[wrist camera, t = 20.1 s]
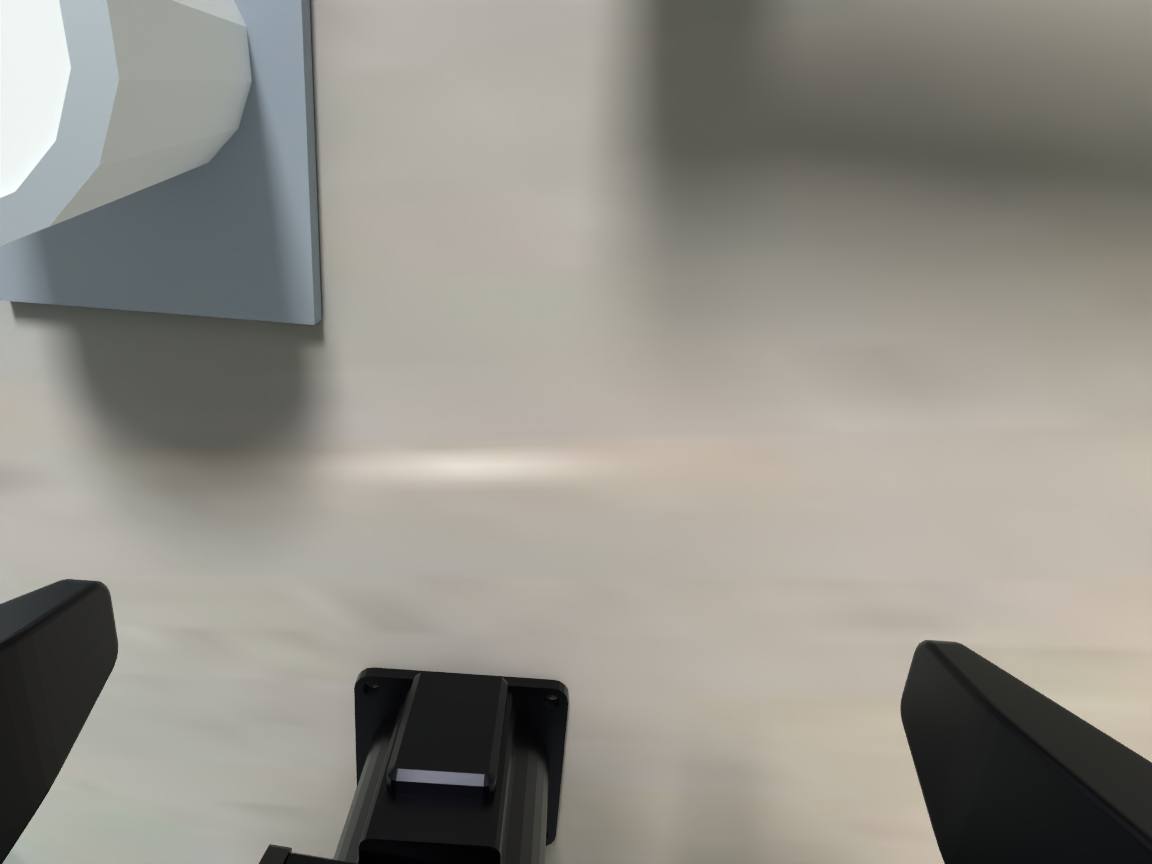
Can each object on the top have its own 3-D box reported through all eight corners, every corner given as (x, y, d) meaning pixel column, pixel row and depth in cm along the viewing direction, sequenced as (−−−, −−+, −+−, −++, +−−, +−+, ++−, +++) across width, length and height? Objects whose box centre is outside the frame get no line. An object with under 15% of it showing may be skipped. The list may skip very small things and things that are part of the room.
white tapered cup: (118, 261, 20) (-107, 338, 13) (-103, -9, 18) (-499, -76, 11) (341, 104, 18) (212, 104, 12) (132, -211, 16) (-164, -420, 10)
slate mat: (321, 319, 21) (314, 324, 20) (7, 294, 21) (-9, 299, 20) (299, -258, 17) (290, -270, 16) (-101, -296, 16) (-125, -311, 16)
